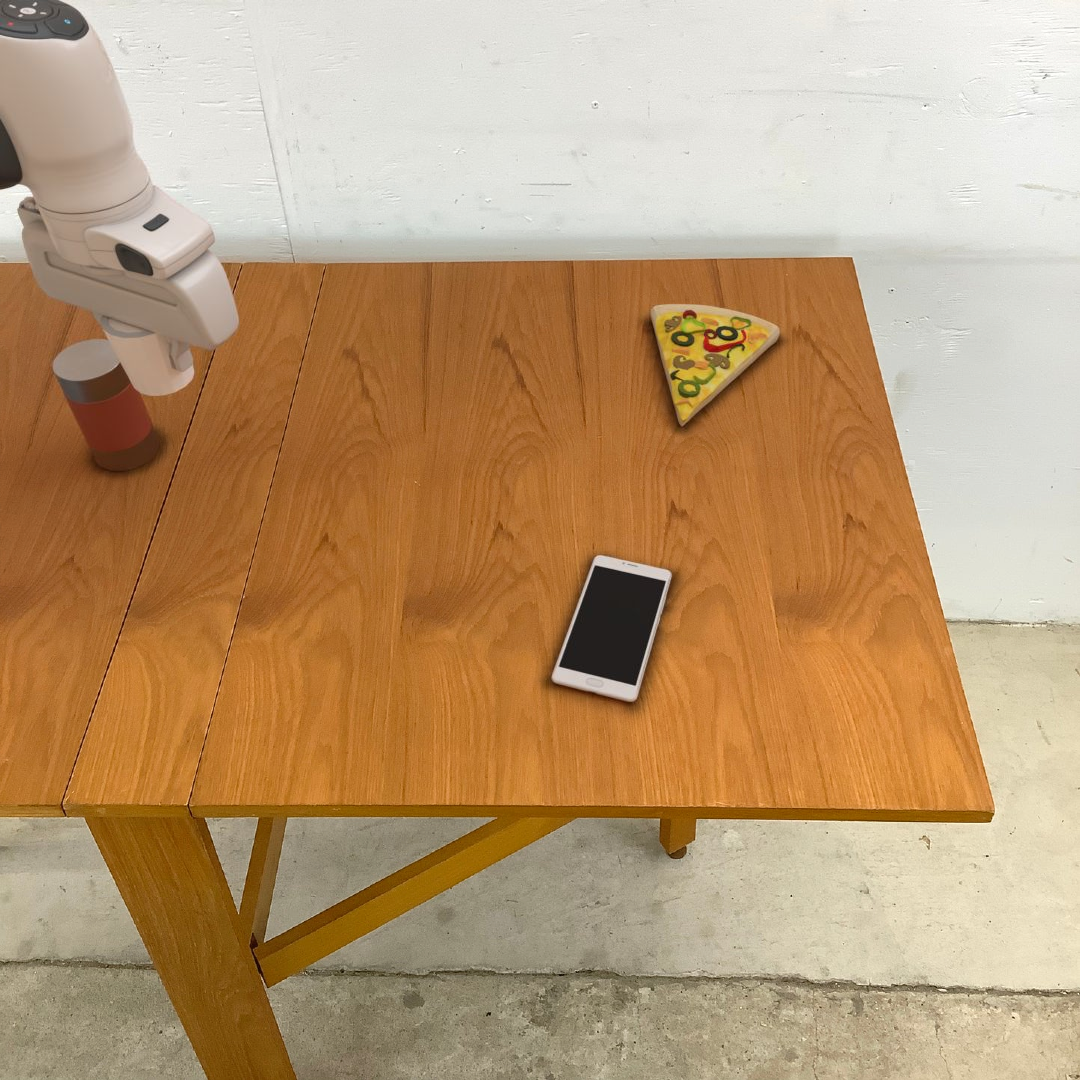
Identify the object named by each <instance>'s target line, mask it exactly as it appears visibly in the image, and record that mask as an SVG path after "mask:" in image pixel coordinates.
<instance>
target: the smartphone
mask: <svg viewBox="0 0 1080 1080" xmlns="http://www.w3.org/2000/svg"><path fill="white" fill-rule="evenodd" d="M588 571H589V572H588V574H587V576H586V579H585V582H584V585H583V588H582V591H581V594H580V596H579V599H578V602H577V604H576V607H575V610H574V613H573V615H572V618H571V621H570V624H569V627H568V629H567V632H566V635H565V638H564V641H563V643H562V647H561V648H560V652H559V654H558V657H557V660H556V662H555V665H554V669H553V671H552V674H551V681H552V682H553V683H554V684H557V685H560V686H565V687H567V688H572V689H577V690H579V691H584V692H588V693H594V694H596V695H599V696H604V697H608V698H613V699H616V700H620V701H623V702H628V703H633V702H635V701H636V700H637V699H638V696H639V693H640V689H641V685H642V682H643V679H644V675H645V672H646V669H647V664H648V661H649V658H650V655H651V650H652V647H653V643H654V640H655V636H656V634H657V629H658V627H659V623H660V621H661V616H662V614H663V611H664V607H665V604H666V600H667V596H668V595H667V594H668V591H669V588H670V585H671V580H672V577H673V575H672V572H671V571H670V570H668V569H665V568H661V567H656V566H652V565H648V564H644V563H639V562H634V561H630V560H625V559H622V558H621V559H620V558H617V557H616V558H615V557H611V556H608V555H602V554H597V555H596V556H595V557H594V558H593V559H592V563H591V566H590V569H589V570H588Z"/></svg>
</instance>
